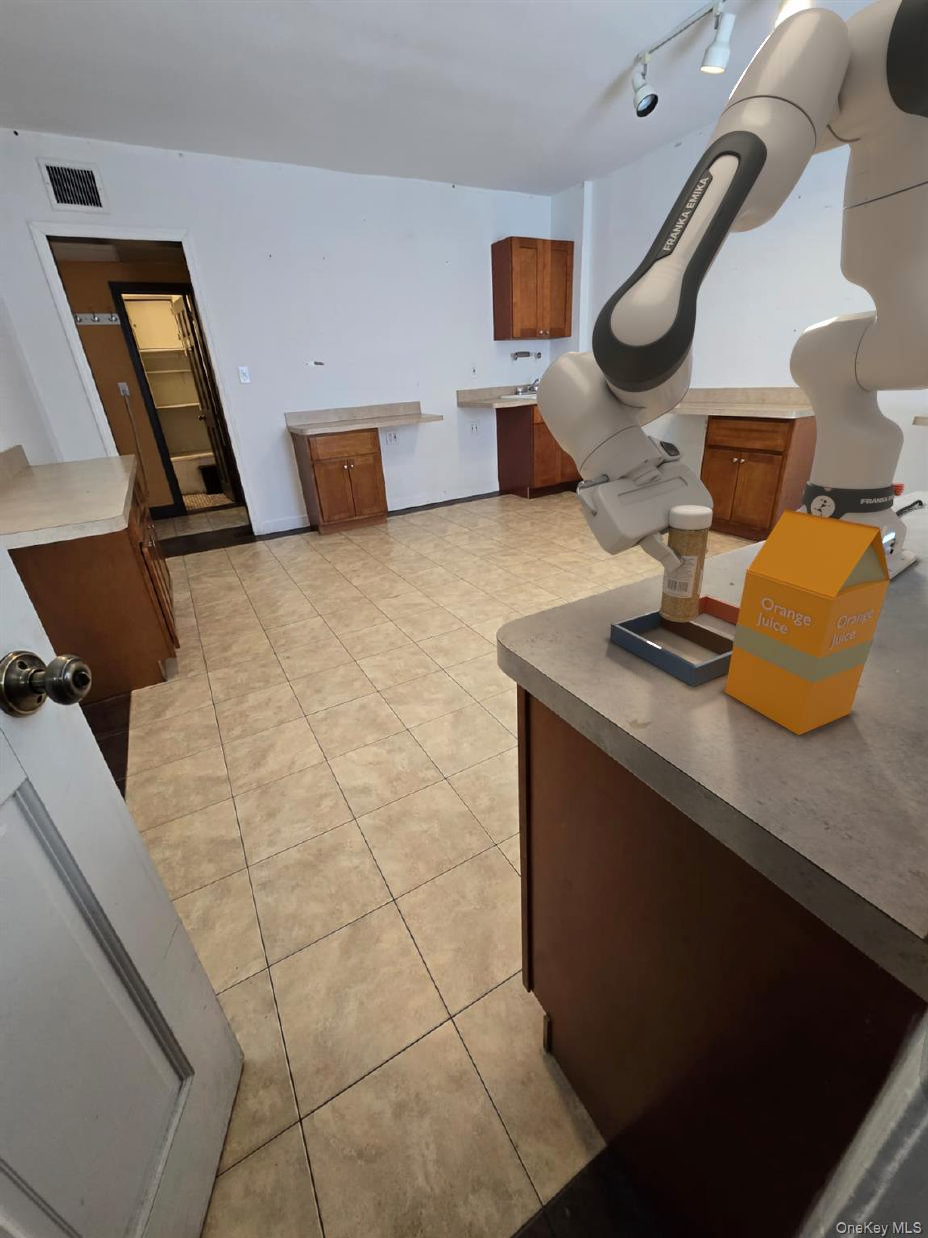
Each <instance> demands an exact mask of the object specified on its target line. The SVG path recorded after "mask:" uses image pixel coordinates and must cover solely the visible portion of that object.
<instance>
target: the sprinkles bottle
mask: <svg viewBox="0 0 928 1238" xmlns="http://www.w3.org/2000/svg"><path fill="white" fill-rule="evenodd" d="M713 513H714V512H713V509H712V510H711V509H710V508H708V507H703V506H695V505H684V506H676V507H673V508H671V509H670V512H669V525H670V526H669V533H668V536H667V543H666V545H667V546H668V547H669V548H671V549H672V550H673V552H674V551H676V550H678V552H679V553H680V554H681V557H683V558H684V560H685V563H684V564H683V565H682V566H680V567H679V568H677V569H676V570H674V571H672V572H667V571H666V569H665V568H664V567H663V568H664V569H663V577H662V587H661V589H662V592H661V601H660V607H659V609H660V611H659V613H660V615H661V616H662V617H663V618H665V619H667V620H670V621H675V622H688V621H693V622H694V621H695V620H696V619H697V618H698V617H699V614H698V605H699V597H700V596H701V593H702V587H703V580H704V573H705V571H704V570H705V568H704V567H705V559H706V554H707V553H706V546H707V547H708V538H709V535H708V534H709V531H710V529H711V526H712V521H713ZM705 553H706V554H705Z"/></svg>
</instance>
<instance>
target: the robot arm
mask: <svg viewBox="0 0 928 1238" xmlns="http://www.w3.org/2000/svg"><path fill="white" fill-rule="evenodd" d="M846 145H848V146H849V149H850V151H849V155H848V162H847V167H846V173H845V174H846V175H845V182H844V189H843V201H842V208H843V209H842V219H841V220H842V221H841V238H840V239H841V241H840V258H839V259H840V260H839V261H840V262H839V267H840V272H841V274H842V276H843V278H845V280H847V281H848V282H849V283H851V284H853V285H855V286H859V287H860V288H862V289H864V290H865V291H866V292H867V293H868V294H869V297H871V299H872V301H873V304H874V306H875V310H868V311H862V312H853V313H847V314H841V315H838V316H835V317H832V318H830V319H826V320H824V321H821V322H817V323H816V324H813V325H811V326H809V327H808V328H806V329H805V330H804V331H803V332H802V333H801V334H800V336H799V337H798V338H797V340H796V342H795V344H794V346H793V347H792V350H791V353H790V356H789V357H790V358H789V372H790V376H791V378H792V381H793V382H794V384H795V385H797V386H798V387H799V388H800V389H801V390H802V391H803V392H804V394H805V395H806V397H807V398H808V400H809V403H810V405H811V407H812V411H813V414H814V418H815V425H816V440H815V446H814V454H813V461H812V465H811V472H810V475H809V480H807V481H806V482H805V486H804V488H803V491H802V497H801V503H802V504H803V505H802V506H800V508H797V510H796V511H797V512H802V513H807V514H813V515H818V516H823V517H828V518H833V519H838V520H844V521H849V522H854V523H859V524H864V525H870V526H875V527H880V532H881V537H882V542H883V547H884V552H885V558H886V563H887V568H888V573H889V578H890V580H892V579H893V578H895V577H896V576H897V575H899V574H900V573H901V572H903V571H904V570H906V569H907V568H908V567H909V566H910V565H912V564H913V563H915V561H917V558H918V554H917V553H915V552H913V551H910V550H908V549H904V547H903V546H904V543H905V539H906V535H907V529H908V528H907V525H906V524H905V523H904V521H902V519H901V518H900V517H899V515H900V514H902V513H903V512H904V511H907V510H909V509H911V508H913V507H915V506H916V505H918V506H923V505H924V502H923V500H921V499H917V500H915V501H914V502H912V503H911V504H908V505H906V506H904V507H902V508H900V509H898V510H897V511H896V512H895V511H894V510H893V508H892V507H893V506H894V499H895V498H896V497H900V496H901V495H902V494H903V493H904V490H905V484H904V483H894V482H893V480H894V477H895V475H896V470H897V467H898V463H899V460H900V456H901V452H902V449H903V446H904V441H905V438H904V432H903V430H902V428H901V426H900V425H899V424H898V423H897V422H895V421H894V420H892V419H890V418H889V417H887V416H885V414H884V413H883V412H882V411H881V409H880V406H879V403H878V392H887V391H888V392H889V391H891V392H893V391H896V392H897V391H923V390H928V0H877V1H874V2H872V3H871V4H868V5H867V6H865V7H863V8H862V9H861V10H859V11H857V12H855V13H854V14H852V15H851V16H850V17H849V18H848V19H847V20H846V21H845V20H844V19H843V18H842V17H841V16H840V15H839V14H838V13H837V12H836V11H833V10H831V9H829V8H825V7H809V8H805V9H801V10H799V11H797V12H795V13H793V14H791V15H789V16H788V17H786V18H785V19H784V20H783V21H781V22H780V23H779V24H778V25H777V26H776V27H774V29H773V30H772V31H771V33H770V34H769V35H768V36H767V37H766V39H765V41H764V42H763V43H762V44H761V46H760V47H759V49H758V50H757V51H756V53H755V55H754V57H752V60H751V61H750V63H749V64H748V65H747V67H746V69H745V70H744V72H743V74H741V77H740V78H739V80H738V82H737V84H736V85H735V87H734V89H733V90H732V93H731V94H730V96H729V98H728V100H727V102H726V104H725V105H724V107H723V109H722V111H721V113H720V115H719V118H718V119H717V122H716V123H715V126H714V128H713V130H712V132H711V134H710V136H709V138H708V140H707V143H706V145H705V147H704V150H703V152H702V154H701V156H700V159H699V160H698V162H697V163H696V165H695V166H694V168H693V169H692V172H691V173H690V175H689V176H688V178H687V180H686V182H685V184H684V185H683V187H682V189H681V191H680V192H679V194H678V196H677V198H676V200H675V201H674V203H673V205H672V207H671V209H670V211H669V212H668V214H667V216H666V218H665V220H664V222H663V223H662V225H661V227H660V229H659V231H658V233H657V234H656V237H655V238H654V241H652V244H651V245H650V247H649V248H648V251H647V253H646V254H645V256H644V257H643V259H642V260H641V262H640V263H639V265H638V266H637V268H636V269H635V270H634V271H633V272H632V273H631V275H629V277H628V278H627V279H626V280H625V281H624V282H623V283H622V284H621V286H619V287H618V288H617V289H616V290H615V292H614V293H613V294H612V295H610V297H609V299H607V301H606V302H605V304H604V305H603V307H602V308H601V309H600V312H599V313H598V315H597V317H596V320H595V322H594V325H593V329H592V334H591V335H592V336H591V348H592V350H588V351H580V352H579V351H567V352H565V353H563V354H561V355H560V356H558V357H557V358H556V359H555V360H553V361H552V362H551V364H549V366H548V367H547V368H546V370H545V371H544V372H543V375H542V376H541V378H540V381H539V383H538V385H537V389H536V405H537V408H538V411H539V413H540V415H541V418H542V419H543V421H544V423H545V425H546V427H547V429H548V430H549V432H550V433H551V435H552V437H553V438H554V439H555V441H556V443H557V444H558V445H559V447H560V448H561V449H562V450H563V451H564V452H566V454H568V455H569V456H570V457H571V458H572V460H573V461H574V464H575V466H576V469H577V471H578V474H579V475H580V476H581V478H582V479H583V480H581V481H580V482H578V484H577V487H576V494H575V496H576V500H577V501H578V502H579V504H580V505H581V512H582V515H583V517H584V520H585V522H586V523H587V525H588V527H589V529H590V531H591V533H592V534H593V536H594V538H595V540H596V541H597V543H598V544H599V546H600V547H601V549H602V550H603V551H604V552H606V553H607V554H609V555H611V556H616V555H618V554H621V553H623V552H626V551H628V550H630V549H633V548H635V547H638V546H639V547H641V549H642V551H644V553H645V554H647V555H648V556H650V557H651V558H653V559H654V560H656V561H658V562H659V563H660V564H661V566H662V567H663V568H665V569H666V571H667V572H672V571H674V570H676V569H677V568H679V567H680V566H682V565H683V564H684V563H685V560H684V558H683V557H681V554H680V553H679V552H678V550H676V551H674V552H673V550H672V549H671V548H669V547H668V546H667V543H665V542H664V540H665V539H664V537H663V536H664V535H667V534H669V526H670V525H669V512H670V509H671V508H673V507H676V506H684V505H695V506H703V507H708V508H710V509H711V510H712V511H713V509H714V500H713V497H712V494H711V493H710V491H709V490H708V488H707V487H706V486H705V484H704V483H703V481H702V479H700V477H699V476H698V474H697V473H696V472H695V470H694V469H693V468H692V467H691V466H690V465H689V464H688V463H687V462H685V461H684V460H681V459H682V458H683V457H684V452H683V450H682V449H681V448H680V447H679V446H678V445H679V444H676V443H675V442H670V441H665V440H661V439H658V438H655V436H653V435H647V434H646V432H645V431H644V430H643V427H645V426H646V425H648V424H650V423H651V422H653V421H656V420H657V419H659V418H660V417H663V416H664V415H666V414H667V413H669V412H670V411H672V410H673V409H674V408H676V407H677V406H678V405H679V404H680V403H681V402H682V401H683V399H684V398H685V396H686V395H687V393H688V390H689V388H690V386H691V382H692V375H693V362H694V361H693V359H694V357H693V349H694V347H693V346H694V336H695V330H696V323H697V322H696V321H697V307H698V305H697V301H698V296H699V292H700V289H701V286H702V285H703V283H704V281H705V280H706V278H707V275H708V273H709V272H710V270H711V268H712V266H713V264H714V263H715V261H716V259H717V257H718V255H719V253H720V252H721V249H723V246H724V245H725V242H726V240H728V237H729V235H730V233H731V234H732V233H733V234H735V233H737V234H739V233H745V232H749V231H752V230H755V229H757V228H759V227H762V226H763V225H766V224H767V223H768V222H770V221H772V219H773V218H775V216H776V214H777V213H778V212H779V210H780V209H781V208H782V206H783V205H784V204H785V202H786V201H787V199H789V197H790V196H791V194H792V192H793V190H794V189H795V187H796V186H797V185H798V183H799V181H800V180H801V178H802V176H803V174H804V172H805V170H806V168H807V166H808V164H809V163H810V161H811V159H812V156H815V155H818V154H821V153H826V152H828V151H832V150H835V149H838V148H840V147H844V146H846ZM707 553H709V547H708V545H707V546H706V553H705V555H706V554H707Z"/></svg>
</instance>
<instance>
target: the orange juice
mask: <svg viewBox="0 0 928 1238" xmlns="http://www.w3.org/2000/svg"><path fill="white" fill-rule="evenodd" d="M890 582H891V579H890V578H889V573H888V568H887V563H886V558H885V552H884V547H883V542H882V537H881V532H880V527H875V526H870V525H864V524H859V523H854V522H849V521H844V520H838V519H833V518H828V517H823V516H818V515H813V514H807V513H802V512H797V510H792V509H786V508H785V509H784V511H783V513H782V515H781V516H780V518H779V519H778V521H777V523H776V524H775V526H774V527H773V528H772V529H771V532H770V534H769V535H768V536H767V538H766V540H765V542H764V543H763V545H762V546H761V548H760V549H759V551H758V553H757V554H756V556H755V557H754V559H753V561H752V562H751V564H750V565H749V566H748V568H746V570H745V577H744V583H743V588H742V594H741V599H740V604H739V605H740V606H739V607H740V611H739V616H738V622H737V624H735V629H734V630H735V631H734V636H733V639H734V641H733V650H732V656H731V662H730V667H729V673H727V680H726V684H725V690H724V693H725V694H726V695H728V696H730V697H732V698H734V699H736V700H737V701H738V702H741V703H742V704H744V705H745V706H747V707H749V708H751V709H753V710H754V711H756V712H758V713H759V714H761V715H763V716H764V717H767V718H768V719H770V720H772V721H773V722H775V723H777V724H778V725H780V726H782V727H784V728H785V729H787V730H789V731H790V732H792V733H794V734H795V735H797V736H800V735H803V734H805V733H807V732H810V731H812V730H814V729H817V728H820V727H822V726H824V725H827V724H829V723H831V722H834V721H835V720H838V719H841V718H843V717H845V716H847V715H850V714H851V710H852V707H853V705H854V700H855V698H856V695H857V690H858V687H859V684H860V681H861V677H862V675H863V671H864V667H865V664H866V663H867V661H868V657H869V654H870V650H871V647H872V645H873V640H874V639H873V638H874V634H875V632H876V627H877V625H878V622H879V618H880V615H881V612H882V608H883V604H884V601H885V599H886V595H887V591H888V588H889V585H890Z"/></svg>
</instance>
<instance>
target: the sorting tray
mask: <svg viewBox="0 0 928 1238" xmlns="http://www.w3.org/2000/svg"><path fill="white" fill-rule="evenodd" d="M659 611H660V608H657V609H655V610H651V611H648V612H645V613H642V614H639V615H635V616H632V617H629V618H626V619H622V620H619V621H616V622H613V623H611V624H610V631H609V633H610V635H609V641H611V642H613V643H614V644H616V645H618V646H620V647H622V648H623V649H625V650H627V651H629V652H630V653H632V654H633V655H635V656H637V657H639V658H640V659H642V660H644V661H646V662H648V663H650V664H652V665H653V666H655V667H657V668H659V669H661V670H662V671H664V672H666V673H668V674H669V675H671V676H673V677H675V678H677V679H678V680H680V681H681V682H684V683H685V684H687V685H690V686H691V687H694V688H695V687H696V686H699V685H702V684H703V683H706V682H708V681H711V680H713V679H716V678H719V677H721V676H723V675H726V674H728V673H729V667H730V662H731V656H732V650H733V641H734V637H733V638H732V637H730V636H728V635H726V634H723V633H721V632H719V631H716V630H714V629H712V628H710V627H707V626H705V625H702V624H700V623H699V622H696V621H694V620H693V621H688V622H675V621H670V620H667V619H665V618H663V617H662V616H661V615H660V613H659ZM739 611H740V606H739V605H735V604H733V603H730V602H729V601H728V602H727V601H725V600H722V599H719V598H717V597H715V596H711V595H709V594H703V595H700V597H699V605H698V615H699V614H701V613H706V614H709V615H711V616H714V617H716V618H719V619H721V620H723V621H726V622H729V623H731V624H734V625H736V624H737V622H738V616H739ZM660 627H662V628H664V629H666V630H668V631H669V632H672V633H675V634H677V635H679V636H680V637H683V638H685V639H687V640H689V641H691V642H694V643H695V644H698V645H700V646H702V647H704V648H706V649H708V650H711V651H712V652H715V653H717V654H719V655H717V656H715V657H712V658H709V659H707V660H704V661H701V662H699V663H696V664H695V663H693V662H691V661H689V660H687V659H685V658H683V657H682V656H679V655H678V654H675V653H674V652H672V651H670V650H668V649H666V648H664V647H662V646H660V645H658V644H656V643H655V642H652V641H650V640H648V639H646V638H644V637H643V636H641V635H638V634H640V633H643V632H647V631H649V630H652V629H655V628H660Z"/></svg>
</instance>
